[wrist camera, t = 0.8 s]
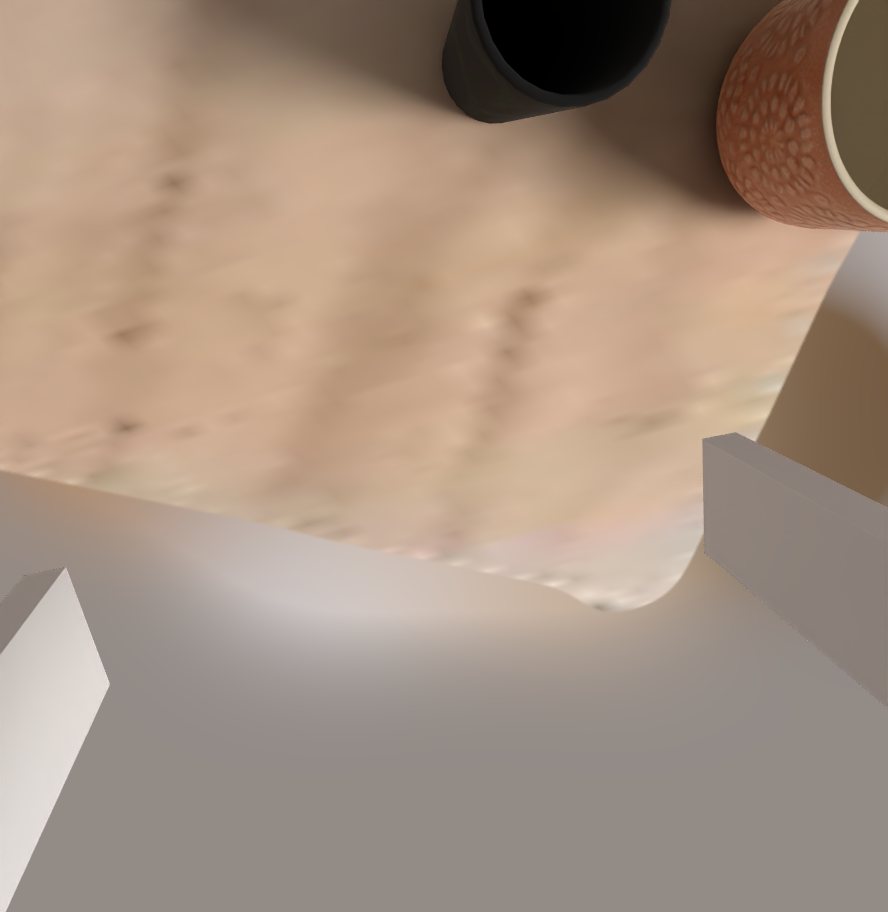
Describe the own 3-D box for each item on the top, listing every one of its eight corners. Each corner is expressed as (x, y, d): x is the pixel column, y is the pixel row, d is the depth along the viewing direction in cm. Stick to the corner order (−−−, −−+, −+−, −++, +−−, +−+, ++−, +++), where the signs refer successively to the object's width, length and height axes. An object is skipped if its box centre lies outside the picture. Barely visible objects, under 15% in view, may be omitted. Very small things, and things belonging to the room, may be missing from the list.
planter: (684, 6, 37) (826, -83, 26) (892, -17, 38) (1104, -110, 28) (688, 247, 41) (813, 250, 30) (877, 217, 42) (1057, 211, 32)
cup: (446, 163, 37) (502, 132, 26) (402, 5, 34) (442, -107, 23) (579, 120, 37) (690, 71, 26) (545, -40, 35) (653, -170, 24)
